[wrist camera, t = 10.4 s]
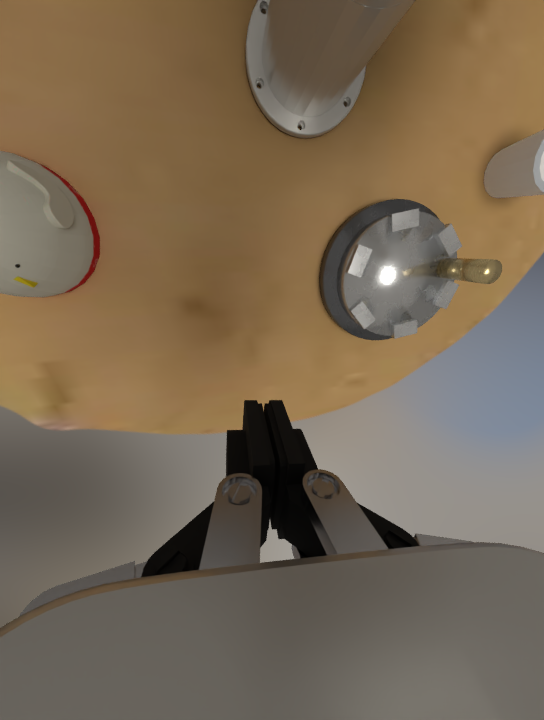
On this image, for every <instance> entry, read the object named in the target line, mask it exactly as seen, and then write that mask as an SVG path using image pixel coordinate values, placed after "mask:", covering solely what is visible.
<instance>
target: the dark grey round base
mask: <svg viewBox="0 0 544 720" xmlns="http://www.w3.org/2000/svg"><path fill="white" fill-rule="evenodd" d="M418 208H419V212H425V213H427V214H430V215H432V216H434V217H436V218H437V219H439V218H438V217H437V216H436V215H435V214H434V213H433V212H432V211H431V210H430V209H428V208H427V207H425V206H424V205H422V204H419V203H417V202H414V201H410V200H404V199H394V200H387V201H383V202H379V203H376V204H373V205H370V206H368V207H365V208H363V209H361V210H360V211H358V212H356V213H355V214H353V215H352V216H351V217H349V218H348V219H347V220H346V221H345V222H344V223H343V224H342V225H341V226H340V227H339V229H338V230H337V231H336V232H335V234H334V235H333V237H332V238H331V240H330V242H329V244H328V246H327V248H326V250H325V253H324V256H323V259H322V263H321V267H320V276H319V286H320V293H321V298H322V301H323V304H324V306H325V308H326V310H327V312H328V314H329V315H330V317H331V318H332V319H333V320H334V321H335V323H337V324H338V325H339V326H340V327H341V328H343V329H344V330H346V331H347V332H349V333H351V334H352V335H355V336H357V337H359V338H363V339H368V340H384V339H389V338H392V337H391V336H387V335H380V334H376V333H373V332H371V331H369V330H367V329H363V328H362V327H361V326H360V325H358V324H357V323H355V322H354V321H353V320H351V319H350V318H349V316H348V315H347V314H346V313H345V311H344V310H343V308H342V306H341V303H340V300H339V297H338V292H337V273H338V268H339V264H340V261H341V258H342V256H343V253H344V251H345V249H346V248H347V246H348V244H349V243H350V241H351V240H352V239H353V237H354V236H355V235H356V234H357V233H358V232H359V231H360V230H361V229H362V228H363V227H365V226H366V225H367V224H369V223H370V222H372V221H374V220H376V219H378V218H380V217H383V216H386V215H390V214H395V213H399V212H404V211H409V210H413V209H418Z"/></svg>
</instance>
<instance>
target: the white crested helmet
mask: <svg viewBox="0 0 544 720" xmlns="http://www.w3.org/2000/svg"><path fill="white" fill-rule="evenodd" d="M99 255H100V237H99V233H98V230H97V226H96V223H95V219H94V217H93V215H92V213H91V212H90V210H89V208H88V206H87V205H86V203H85V201H84V199H83V198H82V197H81V196H80V195H79V194H78V193H77V192H76V191H75V189H74V188H73V187H72V186H71V185H70V184H69V183H68V182H67V181H66V180H64V179H63V178H61V177H60V176H59V175H57V174H56V173H54V172H53V171H51V170H50V169H49V168H47V167H45V166H43V165H40V164H38V163H36V162H33V161H31V160H28V159H26V158H23V157H21V156H18V155H16V154H13V153H9V152H4V151H0V293H2V294H7V295H13V296H23V297H49V296H53V295H57V294H61V293H65V292H69V291H72V290H74V289H75V288H77V287H79V286H80V285H82V284H84V283H85V282H86V281H87V279H88V278H89V277H90V276H91V274H92V273H93V272H94V270H95V267H96V264H97V261H98V258H99Z"/></svg>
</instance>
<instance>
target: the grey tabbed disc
mask: <svg viewBox="0 0 544 720" xmlns="http://www.w3.org/2000/svg"><path fill="white" fill-rule="evenodd" d="M460 247H462V245H461V243H460V241H459V239H458V237H457V234H456V232H455V230H454V228H453V226H452V224H446V225H444V224H443V223H442V222H441V221H440V220H439V219H437V218H436V217H434V216H432V215H430V214H427V213H425V212H419V208H418V209H413V210H409V211H404V212H399V213H395V214H390V215H386V216H383V217H380V218H378V219H376V220H374V221H372V222H370V223H369V224H367V225H366V226H365V227H363V228H362V229H361V230H360V231H359V232H358V233H357V234H356V235H355V236H354V237H353V239H352V240H351V241H350V243H349V244H348V246H347V248H346V249H345V251H344V253H343V256H342V258H341V261H340V264H339V268H338V273H337V292H338V297H339V300H340V303H341V306H342V308H343V310H344V311H345V313H346V314H347V315H348V316H349V318H350V319H351V320H353V321H354V322H355V323H357V324H358V325H360V326H361V327H362V328H363V329H367V330H369V331H371V332H373V333H376V334H380V335H387V336H391V337H392V338H394V339H395V338H399V337H403V336H407V335H411V334H415V333H417V328H418V327H420V326H421V325H423V324H424V323H426V322H427V321H428V320H429V319H430V318H431V317H433V316H434V315H435V313H436V312H437V311H438V310H439V309H440V308H444V309H446V308H447V307H448V305H449V303H450V301H451V299H452V297H453V295H454V294H455V292H456V290H457V288H458V286H459V285H458V284H456V283H454V280H461V281H468V282H476V283H483V284H491V283H493V282H495V281H496V280H497V279H498V278H499V276H500V274H501V272H502V264H501V262H500V261H498V260H488V259H463V258H457V252H456V251H457V250H458V249H459V248H460Z"/></svg>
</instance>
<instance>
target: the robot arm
mask: <svg viewBox="0 0 544 720" xmlns="http://www.w3.org/2000/svg"><path fill="white" fill-rule="evenodd" d="M414 1H415V0H257V3H256V5H255V7H254V9H253V11H252V15H251V18H250V22H249V25H248V31H247V39H246V56H245V58H246V68H247V75H248V79H249V84H250V88H251V90H252V93H253V95H254V98H255V100H256V102H257V104H258V106H259V107H260V109H261V111H262V112H263V114H264V115H265V116H266V117H267V118H268V120H269V121H270V122H271V123H272V124H273V125H274V126H276V127H277V128H278V129H279V130H281V131H283V132H285V133H287V134H289V135H291V136H295V137H299V138H313V137H317V136H321V135H323V134H325V133H327V132H329V131H331V130H332V129H333V128H335V127H336V126H337V125H338V124H339V123H340V122H341V121H342V120H343V119H344V118H345V117H346V116H347V114H348V113H349V112H350V110H351V109H352V108H353V106H354V104H355V102H356V100H357V98H358V96H359V94H360V91H361V87H362V84H363V81H364V76H365V70H366V65H367V63H368V62H369V61H370V59H371V58H372V57H373V55H374V54H375V53H376V51H377V50H378V49H379V47H380V46H381V45H382V44H383V42H384V41H385V40H386V38H387V37H388V36H389V34H390V33H391V32H392V30H393V29H394V28H395V26H396V25H397V24H398V23H399V21H400V20H401V19H402V17H403V16H404V15H405V13H406V12H407V11H408V9H409V8H410V7H411V5H412V4H413V3H414ZM261 12H264V13H265V14H263V13H261ZM257 85H259V86H260V87H261V89H259V88H257V87H256V86H257ZM343 103H344V104H345V105H346V107H345V106H344V104H343ZM298 126H300V127H301V130H299V129H298ZM226 451H227V452H226V478H224V479H223V480H222V481H221V482H220V483H219V486H218V488H217V492H216V496H215V501H214V502H213V503H212V504H211V505H209V506H208V507H207V508H206V509H205V510H203V511H202V512H201V513H200V514H199V515H198V516H196V517H195V518H194V519H193V520H192V521H191V522H189V523H188V524H187V525H186V526H185V527H184V528H183V529H181V530H180V531H179V532H178V533H177V534H176V535H174V536H173V537H172V538H171V539H170V540H169V541H167V542H166V543H165V544H164V545H163V546H162V547H161V548H159V549H158V550H157V551H156V552H155V553H154V554H153V555H152V556H151V557H150V558H149V559H148V561H147V562H144V563H141V564H137V565H135V561H134V562H130V563H128V564H124V565H121V566H118V567H115V568H112V569H108V570H105V571H102V572H99V573H96V574H93V575H90V576H87V577H83V578H80V579H77V580H74V581H71V582H68V583H64V584H61V585H58V586H55V587H53V588H51V589H49V590H47V591H44V592H43V593H41V594H40V595H39V596H37V597H36V598H35V599H34V600H32V601H31V602H30V603H29V604H28V605H27V607H26V608H25V609H24V610H23V612H21V614H20V616H19V617H18V618H16V619H14V620H13V621H11V622H9V623H7V624H6V625H4V626H2V627H1V628H0V720H544V553H542V552H539V551H535V550H531V549H527V548H524V547H520V546H514V545H508V544H502V543H484V542H471V541H464V540H458V539H450V538H444V537H436V536H430V535H422V534H415V536H414V537H412V536H411V535H410V534H409V533H407V532H406V531H405V530H403V529H402V528H400V527H398V526H396V525H395V524H393V523H391V522H390V521H388V520H386V519H385V518H383V517H381V516H379V515H377V514H376V513H374V512H372V511H371V510H369V509H367V508H365V507H363V506H362V505H360V504H358V503H357V502H356V501H355V499H354V498H353V497H352V495H351V494H350V492H349V491H348V489H347V488H346V486H345V485H344V483H343V482H342V481H341V480H340V479H339V477H337V476H336V475H334V474H333V473H331V472H328V471H326V470H321V469H320V470H318V468H317V465H316V463H315V461H314V458H313V456H312V454H311V451H310V449H309V447H308V444H307V442H306V439H305V437H304V435H303V432H302V430H301V429H293V428H292V426H291V423H290V420H289V418H288V415H287V412H286V409H285V407H284V404H283V401H282V400H270V401H269V404H265V406H264V411H263V407H262V404H258V402H257V400H245V401H244V415H243V430H227V449H226ZM269 519H270V520H271V527H272V529H277V533H278V538H279V539H286V540H287V541H288V542H290V543H291V544H292V551H293V556H294V558H295V559H292V560H283V561H273V562H264V563H260V547H261V546H262V545H263V544H264V542H265V541H266V538H267V530H268V528H269Z"/></svg>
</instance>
